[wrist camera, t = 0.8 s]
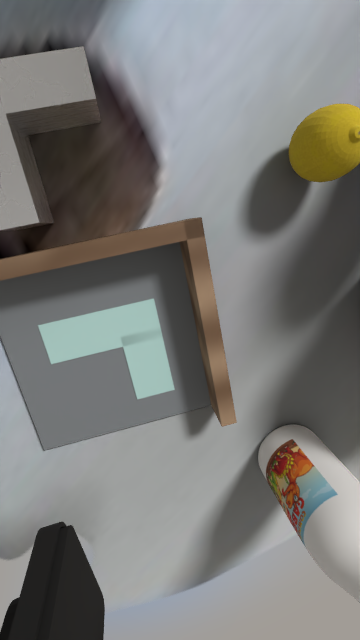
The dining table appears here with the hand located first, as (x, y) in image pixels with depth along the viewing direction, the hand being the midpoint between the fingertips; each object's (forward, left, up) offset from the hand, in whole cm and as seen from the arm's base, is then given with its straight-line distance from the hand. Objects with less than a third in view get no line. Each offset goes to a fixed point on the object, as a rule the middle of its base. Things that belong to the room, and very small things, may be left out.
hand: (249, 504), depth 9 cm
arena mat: (+3, -6, -25) cm, 26 cm away
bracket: (-14, -6, -25) cm, 29 cm away
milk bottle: (+21, +11, -25) cm, 35 cm away
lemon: (-11, +16, -25) cm, 32 cm away
